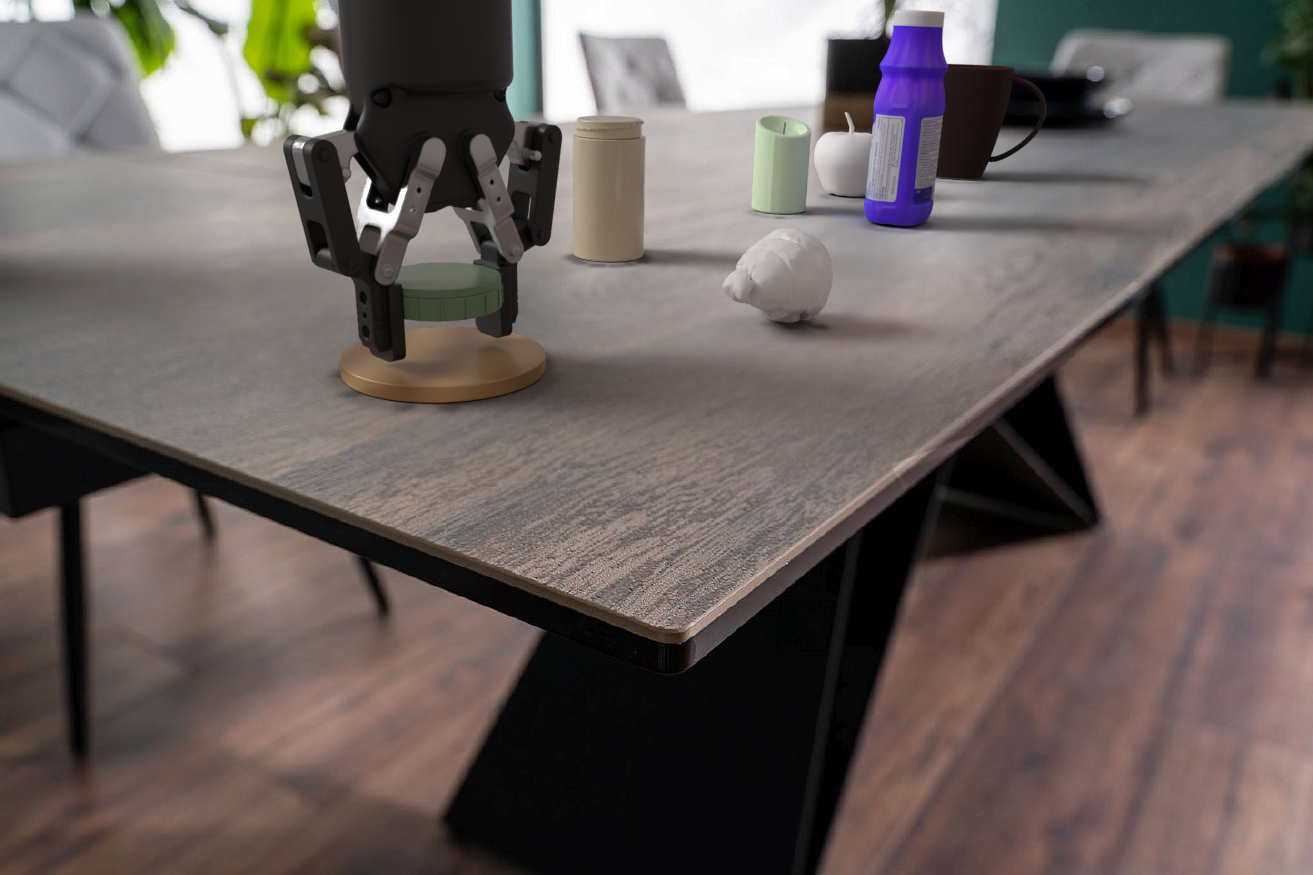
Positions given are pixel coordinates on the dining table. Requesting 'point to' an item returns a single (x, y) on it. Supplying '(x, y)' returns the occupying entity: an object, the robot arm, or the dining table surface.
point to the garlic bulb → (783, 276)
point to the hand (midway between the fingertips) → (443, 343)
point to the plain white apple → (843, 161)
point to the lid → (449, 291)
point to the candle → (780, 165)
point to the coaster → (446, 366)
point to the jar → (608, 188)
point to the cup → (977, 118)
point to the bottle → (907, 121)
